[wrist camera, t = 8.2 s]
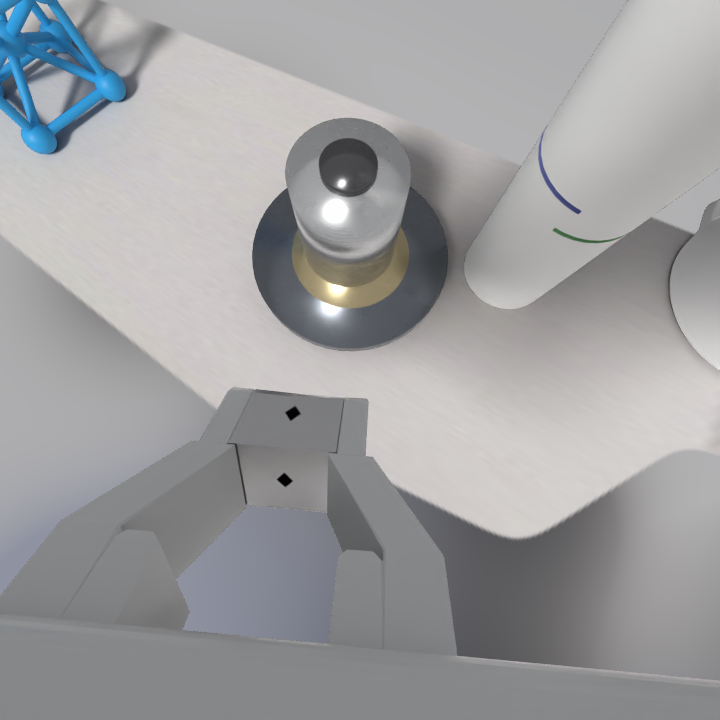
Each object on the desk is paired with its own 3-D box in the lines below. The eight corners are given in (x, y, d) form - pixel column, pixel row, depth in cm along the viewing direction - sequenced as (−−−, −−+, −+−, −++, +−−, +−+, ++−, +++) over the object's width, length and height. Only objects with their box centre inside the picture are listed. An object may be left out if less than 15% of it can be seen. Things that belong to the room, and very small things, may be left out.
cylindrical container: (502, 215, 32) (1014, -522, 7) (564, 271, 31) (1390, -356, 6) (446, 267, 31) (824, -391, 6) (509, 326, 30) (1246, -169, 5)
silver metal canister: (387, 199, 29) (401, 102, 20) (401, 281, 27) (423, 214, 19) (299, 209, 28) (276, 115, 20) (309, 292, 27) (290, 229, 19)
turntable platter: (424, 167, 31) (427, 156, 30) (461, 336, 28) (466, 331, 27) (247, 189, 30) (243, 178, 29) (266, 364, 27) (262, 361, 26)
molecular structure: (-21, 98, 33) (-178, -43, 23) (68, 35, 35) (-44, -122, 25) (47, 165, 32) (-88, 46, 22) (137, 97, 33) (47, -42, 24)
